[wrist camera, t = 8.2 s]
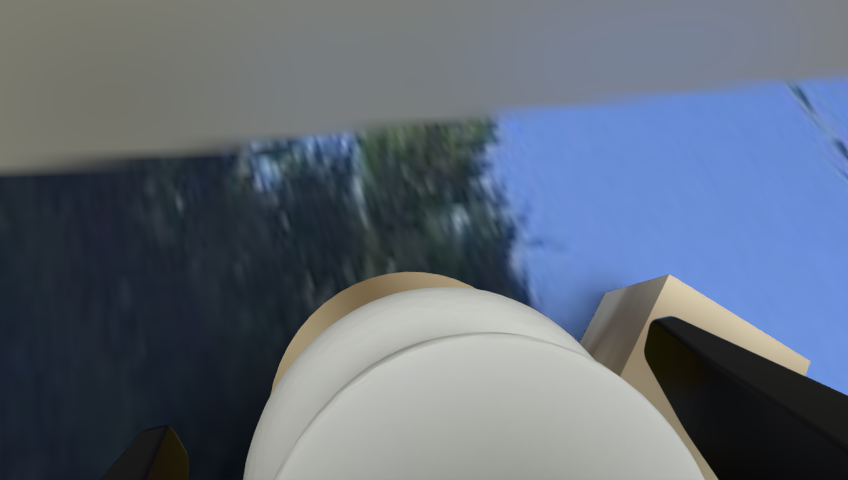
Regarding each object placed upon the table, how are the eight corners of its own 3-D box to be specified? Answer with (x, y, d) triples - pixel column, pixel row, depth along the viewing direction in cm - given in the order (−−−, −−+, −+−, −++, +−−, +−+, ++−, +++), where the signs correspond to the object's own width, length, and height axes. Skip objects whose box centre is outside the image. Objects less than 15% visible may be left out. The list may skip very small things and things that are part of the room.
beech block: (661, 477, 18) (753, 515, 13) (547, 403, 18) (600, 417, 14) (711, 360, 19) (810, 361, 15) (604, 293, 19) (669, 274, 15)
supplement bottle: (327, 314, 17) (195, 204, 5) (505, 327, 18) (794, 254, 5) (305, 518, 16) (18, 1130, 3) (502, 525, 16) (909, 1084, 4)
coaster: (368, 632, 16) (367, 642, 15) (220, 370, 17) (214, 370, 16) (597, 446, 18) (604, 450, 17) (446, 228, 19) (448, 223, 19)
